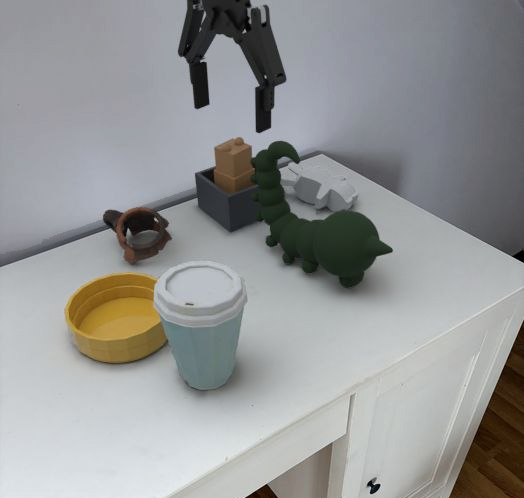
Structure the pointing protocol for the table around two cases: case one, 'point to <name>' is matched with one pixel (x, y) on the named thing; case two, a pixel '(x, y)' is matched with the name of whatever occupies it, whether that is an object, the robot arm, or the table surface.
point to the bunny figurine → (320, 187)
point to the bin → (226, 202)
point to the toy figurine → (313, 226)
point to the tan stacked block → (233, 165)
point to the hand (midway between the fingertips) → (231, 118)
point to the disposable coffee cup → (202, 319)
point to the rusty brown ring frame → (138, 231)
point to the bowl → (116, 318)
